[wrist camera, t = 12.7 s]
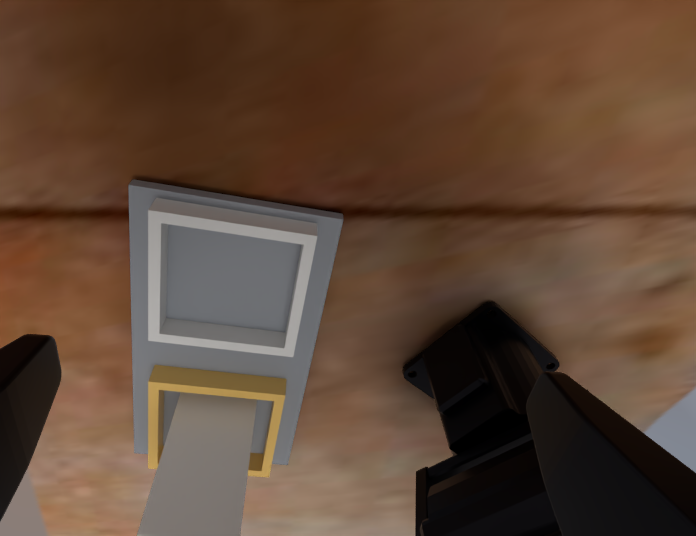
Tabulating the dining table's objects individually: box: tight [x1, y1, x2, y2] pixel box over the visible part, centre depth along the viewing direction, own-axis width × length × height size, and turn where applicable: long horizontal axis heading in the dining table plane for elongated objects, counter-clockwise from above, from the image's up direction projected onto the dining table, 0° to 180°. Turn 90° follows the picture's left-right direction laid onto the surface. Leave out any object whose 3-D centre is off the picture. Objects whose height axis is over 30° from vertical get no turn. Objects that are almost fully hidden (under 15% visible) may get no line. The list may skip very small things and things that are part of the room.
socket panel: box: [129, 179, 343, 477], centre depth 25 cm, size 17×9×2 cm, turn 168°
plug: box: [137, 392, 257, 536], centre depth 24 cm, size 5×4×8 cm
